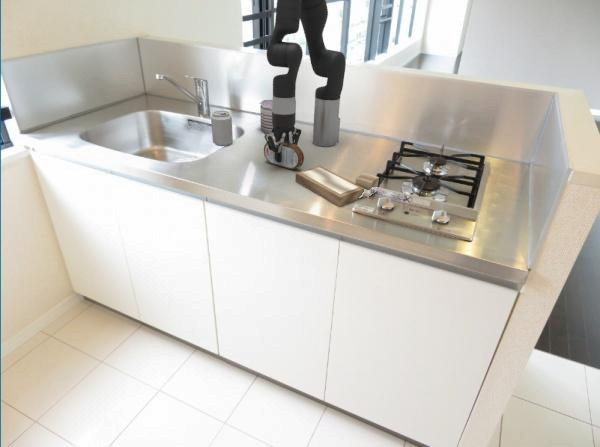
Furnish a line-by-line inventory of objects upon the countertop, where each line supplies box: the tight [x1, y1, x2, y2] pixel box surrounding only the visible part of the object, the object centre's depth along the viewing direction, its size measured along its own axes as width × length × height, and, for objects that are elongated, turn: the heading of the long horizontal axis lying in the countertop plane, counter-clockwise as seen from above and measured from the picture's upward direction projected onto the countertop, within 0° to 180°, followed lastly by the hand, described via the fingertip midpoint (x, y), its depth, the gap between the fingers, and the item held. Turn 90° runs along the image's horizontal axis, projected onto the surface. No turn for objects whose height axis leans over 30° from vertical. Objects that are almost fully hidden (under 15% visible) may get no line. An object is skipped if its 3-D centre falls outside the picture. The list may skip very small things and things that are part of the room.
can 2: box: [259, 99, 273, 135], centre depth 168 cm, size 11×11×12 cm
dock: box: [295, 165, 365, 208], centre depth 127 cm, size 10×20×3 cm, turn 39°
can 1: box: [210, 109, 234, 147], centre depth 155 cm, size 8×8×12 cm
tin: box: [263, 140, 305, 170], centre depth 139 cm, size 15×3×8 cm, turn 57°
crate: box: [355, 172, 380, 190], centre depth 125 cm, size 5×5×5 cm
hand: (283, 160), depth 140 cm, fingers closed on tin, 3 cm apart
